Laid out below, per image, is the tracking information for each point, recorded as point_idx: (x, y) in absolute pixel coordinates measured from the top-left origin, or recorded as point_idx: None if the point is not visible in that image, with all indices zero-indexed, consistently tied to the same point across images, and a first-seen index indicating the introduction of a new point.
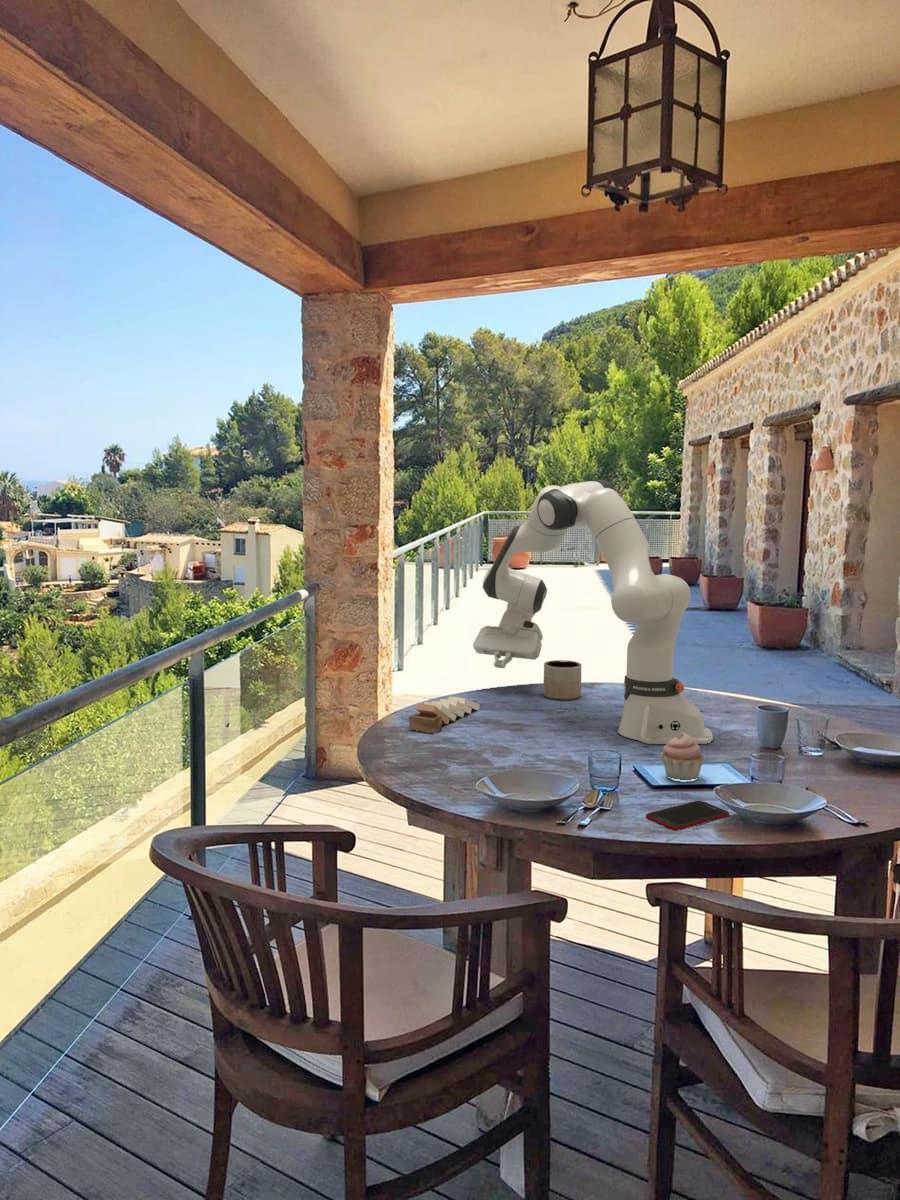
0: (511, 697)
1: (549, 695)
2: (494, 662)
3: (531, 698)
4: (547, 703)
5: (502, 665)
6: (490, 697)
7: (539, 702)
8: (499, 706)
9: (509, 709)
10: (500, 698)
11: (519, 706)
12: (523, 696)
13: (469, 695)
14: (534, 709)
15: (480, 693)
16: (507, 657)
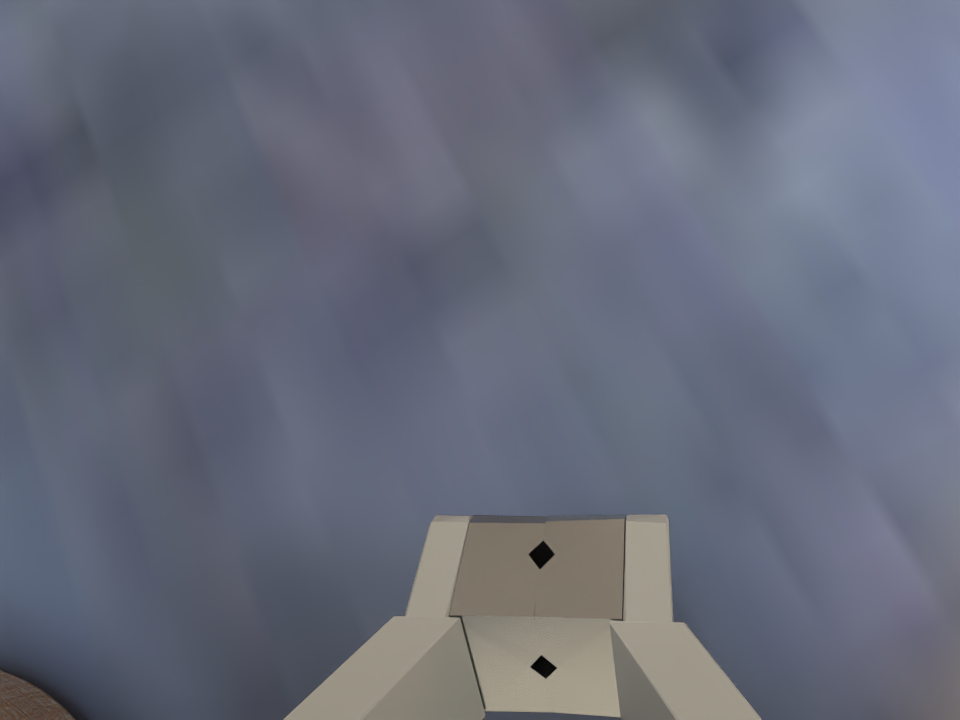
0: None
1: (8, 681)
2: (662, 539)
3: (214, 603)
4: (6, 476)
5: (446, 517)
6: (651, 395)
7: (85, 473)
8: (375, 93)
9: (243, 52)
10: (521, 414)
11: (202, 209)
12: (327, 652)
13: (952, 346)
14: (45, 189)
15: (885, 527)
16: (320, 688)
